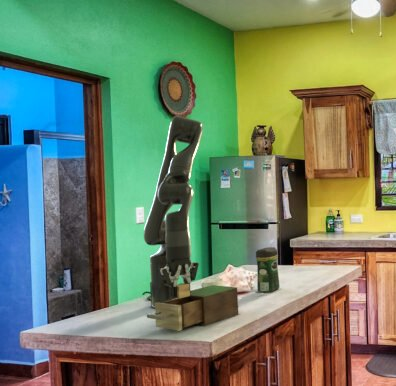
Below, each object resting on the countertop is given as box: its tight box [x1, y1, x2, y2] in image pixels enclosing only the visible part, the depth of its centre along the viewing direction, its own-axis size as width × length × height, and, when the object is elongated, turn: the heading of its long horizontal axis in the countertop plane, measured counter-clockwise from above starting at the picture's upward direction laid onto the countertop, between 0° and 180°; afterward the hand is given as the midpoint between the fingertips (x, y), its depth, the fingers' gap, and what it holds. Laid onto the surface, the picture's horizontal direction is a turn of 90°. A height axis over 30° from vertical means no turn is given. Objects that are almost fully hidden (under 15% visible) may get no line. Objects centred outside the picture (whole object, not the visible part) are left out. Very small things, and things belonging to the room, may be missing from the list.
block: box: [177, 282, 191, 299], centre depth 159 cm, size 4×4×4 cm
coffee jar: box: [255, 246, 281, 294], centre depth 209 cm, size 10×8×19 cm
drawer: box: [146, 297, 203, 332], centre depth 158 cm, size 18×11×8 cm, turn 151°
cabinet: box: [188, 285, 239, 327], centre depth 168 cm, size 15×13×10 cm
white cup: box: [200, 277, 224, 288], centre depth 185 cm, size 8×8×10 cm
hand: (180, 295), depth 159 cm, fingers closed on block, 4 cm apart
